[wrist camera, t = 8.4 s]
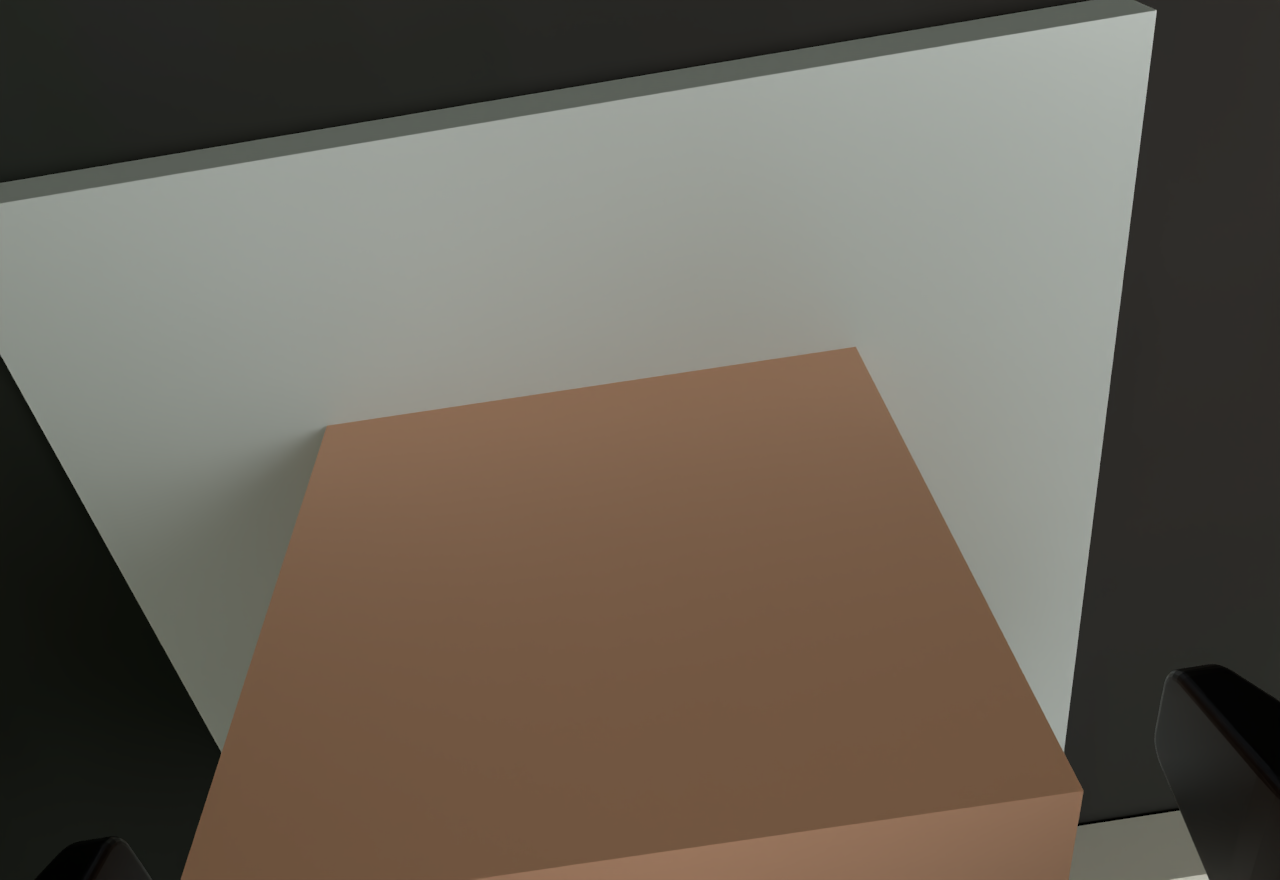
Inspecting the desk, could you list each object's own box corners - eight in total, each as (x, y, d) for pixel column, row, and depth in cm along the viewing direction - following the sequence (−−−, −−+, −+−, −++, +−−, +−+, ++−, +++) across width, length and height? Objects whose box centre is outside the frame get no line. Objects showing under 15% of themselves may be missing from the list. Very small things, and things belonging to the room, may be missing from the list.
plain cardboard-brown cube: (861, 722, 13) (1015, 1198, 9) (452, 781, 13) (407, 1284, 9) (855, 346, 10) (1083, 790, 6) (326, 425, 10) (165, 923, 6)
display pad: (1039, 766, 14) (1057, 803, 14) (321, 877, 15) (313, 918, 14) (1121, -5, 9) (1155, 10, 8) (-42, 189, 9) (-77, 216, 8)
